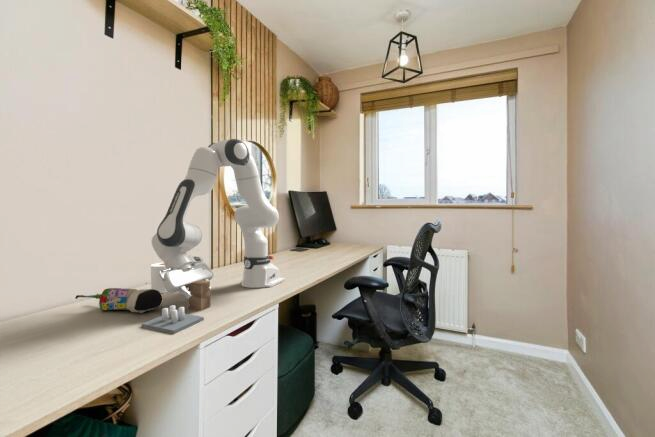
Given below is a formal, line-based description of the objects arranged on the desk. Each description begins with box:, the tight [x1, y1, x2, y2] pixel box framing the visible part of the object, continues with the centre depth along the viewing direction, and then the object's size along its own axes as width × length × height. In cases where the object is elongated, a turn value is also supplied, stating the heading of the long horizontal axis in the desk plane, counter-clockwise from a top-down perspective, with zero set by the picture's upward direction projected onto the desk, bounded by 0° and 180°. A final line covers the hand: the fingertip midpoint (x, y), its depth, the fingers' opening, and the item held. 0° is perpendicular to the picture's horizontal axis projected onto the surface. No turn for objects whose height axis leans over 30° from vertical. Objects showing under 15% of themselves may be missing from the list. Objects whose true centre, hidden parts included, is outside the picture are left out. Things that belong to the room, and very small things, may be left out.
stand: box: [140, 304, 205, 335], centre depth 99 cm, size 12×14×5 cm
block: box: [188, 280, 211, 312], centre depth 113 cm, size 4×6×10 cm
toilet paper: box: [150, 261, 169, 294], centre depth 136 cm, size 10×10×12 cm
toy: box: [75, 287, 163, 314], centre depth 112 cm, size 23×9×30 cm
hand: (200, 293), depth 113 cm, fingers open, 8 cm apart
